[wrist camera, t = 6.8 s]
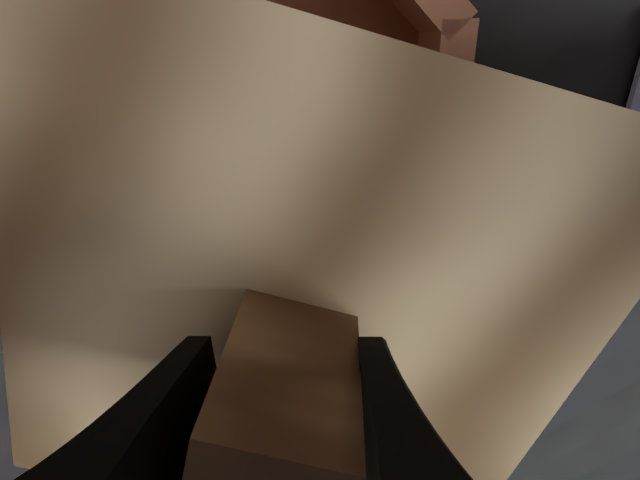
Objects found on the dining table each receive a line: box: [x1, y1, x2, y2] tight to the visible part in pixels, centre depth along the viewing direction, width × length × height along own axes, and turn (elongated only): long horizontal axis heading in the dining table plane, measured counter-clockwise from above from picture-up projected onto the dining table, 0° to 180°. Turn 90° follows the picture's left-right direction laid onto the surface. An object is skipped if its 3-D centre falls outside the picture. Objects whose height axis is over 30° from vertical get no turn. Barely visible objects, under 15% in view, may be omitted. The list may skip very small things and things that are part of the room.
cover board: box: [0, 0, 640, 480], centre depth 10 cm, size 16×16×6 cm
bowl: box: [267, 0, 480, 62], centre depth 15 cm, size 13×13×5 cm
